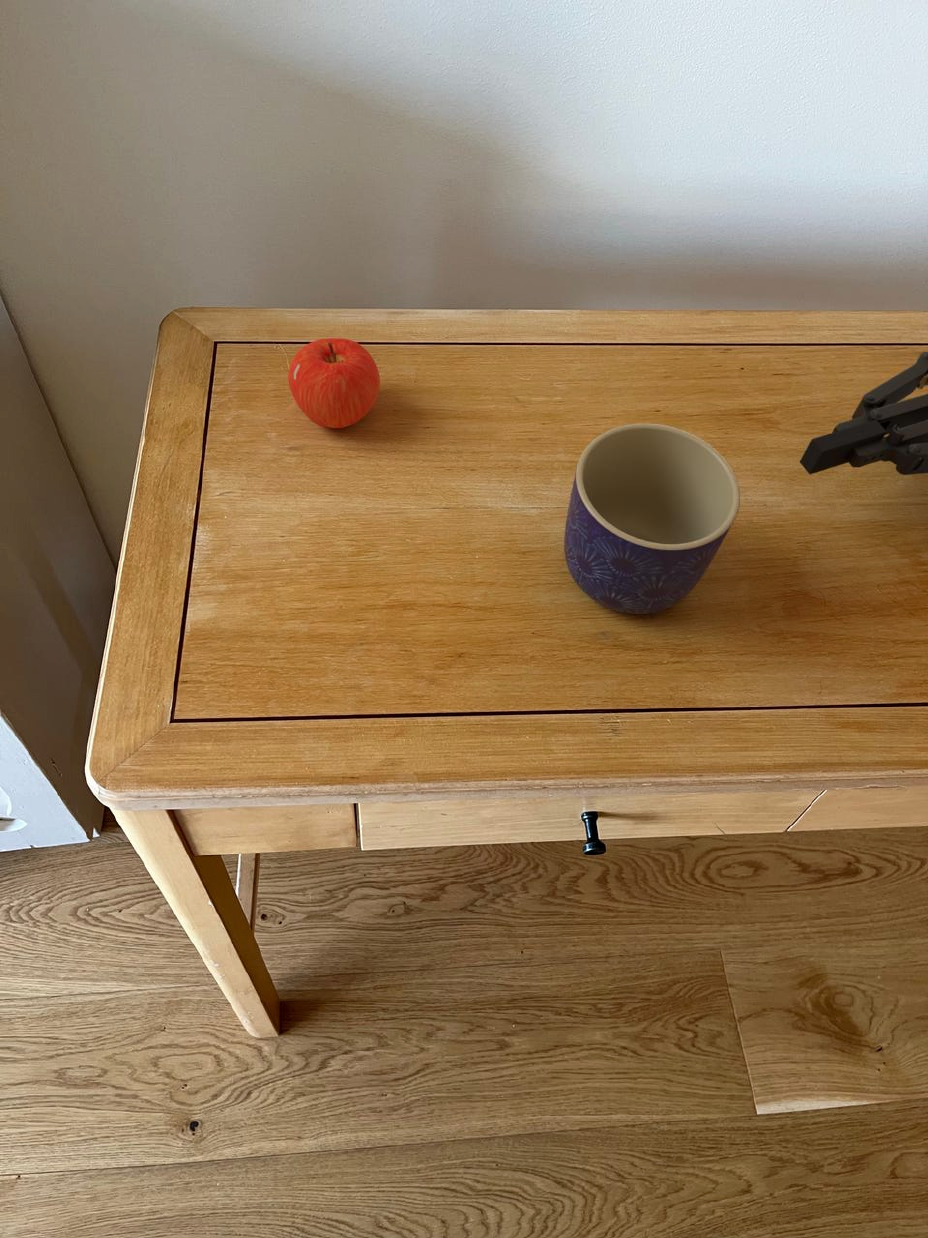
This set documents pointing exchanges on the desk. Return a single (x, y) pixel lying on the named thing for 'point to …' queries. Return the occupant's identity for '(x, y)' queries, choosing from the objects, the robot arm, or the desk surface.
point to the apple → (334, 381)
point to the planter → (647, 516)
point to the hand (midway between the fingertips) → (811, 456)
